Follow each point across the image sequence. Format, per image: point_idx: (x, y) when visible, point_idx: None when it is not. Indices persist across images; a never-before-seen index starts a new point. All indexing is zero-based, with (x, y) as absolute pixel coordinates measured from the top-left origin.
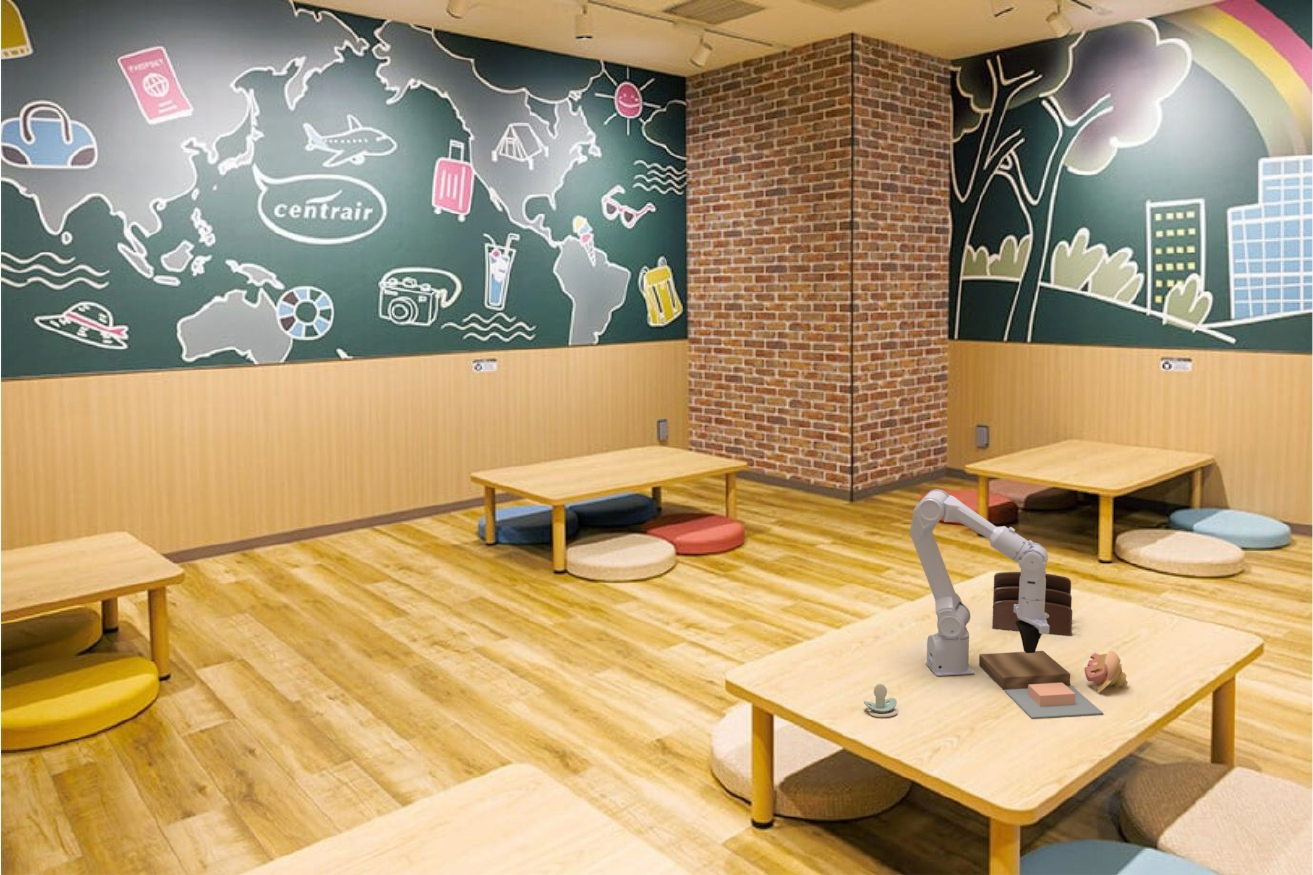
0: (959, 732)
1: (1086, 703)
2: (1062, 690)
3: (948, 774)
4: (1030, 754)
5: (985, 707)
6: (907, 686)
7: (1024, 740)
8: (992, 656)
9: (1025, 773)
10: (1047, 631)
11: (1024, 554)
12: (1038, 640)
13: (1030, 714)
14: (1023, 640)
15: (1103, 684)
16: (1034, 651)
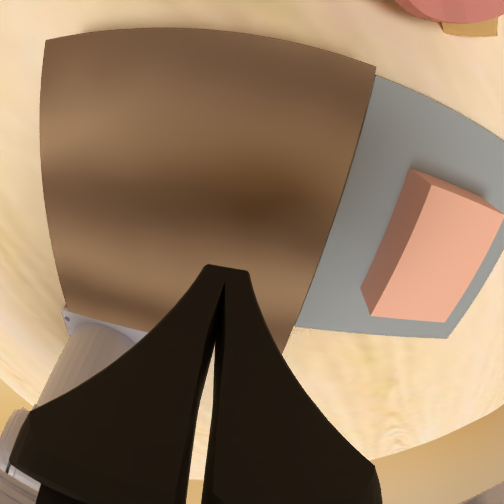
0: (387, 424)
1: (495, 158)
2: (471, 238)
3: (436, 436)
4: (489, 374)
5: (346, 384)
6: (197, 428)
7: (469, 370)
8: (84, 287)
9: (496, 388)
10: (496, 500)
11: None
12: (276, 348)
13: (438, 335)
14: (201, 391)
15: (482, 23)
16: (250, 280)
